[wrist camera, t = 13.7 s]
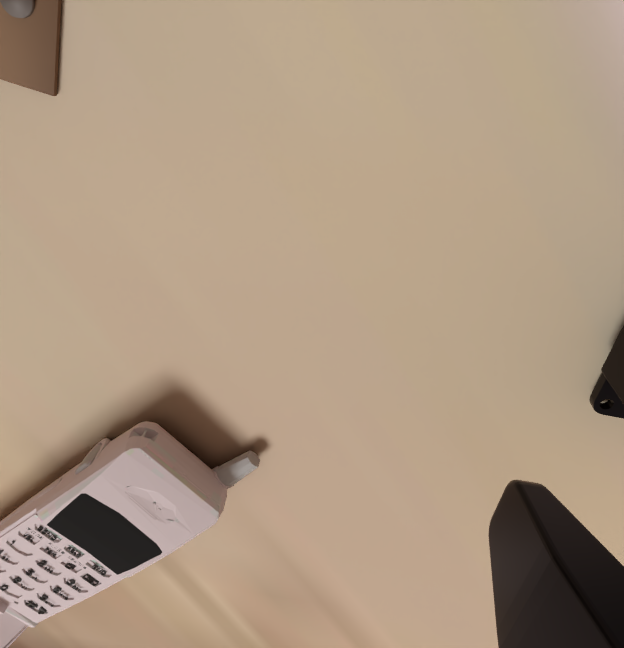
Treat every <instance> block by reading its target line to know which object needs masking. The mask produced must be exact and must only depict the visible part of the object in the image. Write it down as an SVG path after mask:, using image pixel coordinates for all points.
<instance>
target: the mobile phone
mask: <svg viewBox="0 0 624 648" xmlns="http://www.w3.org/2000/svg"><path fill="white" fill-rule="evenodd" d="M259 462H260V459H259V457H258V456H257V455H256V454H255V453H254V452H252V451H248V452H246V453H244V454H242V455H240V456H238V457H236V458H234V459H232V460H230V461H228V462H226V463H224V464H222V465H221V466H217V467H215V468H213V469H210V468H209V467H208V466H207V465H206V464H204V463H203V462H202V461H201V460H200V459H199V458H197V457H196V456H195V455H194V454H193V453H191V452H190V451H189V450H188V449H187V448H186V447H184V446H183V445H182V444H181V443H180V442H178V441H177V440H176V439H175V438H174V437H173V436H171V435H170V434H169V433H168V432H167V431H165V430H164V429H163V428H162V427H161V426H160V425H158V424H157V423H154V422H148V421H145V422H141V423H138V424H137V425H135V426H134V427H132V428H131V429H129V430H128V431H126V432H124V433H123V434H121V435H120V436H118V437H117V438H115V439H114V440H112V441H111V440H110V439H108V438H105V439H102V440H101V441H100V442H99V443H97V444H96V445H95V446H94V447H93V448H92V449H91V450H90V452H89V453H88V454H87V455H86V457H85V458H84V459H83V461H82V462H81V463H79V464H78V465H76V466H75V467H74V468H72V469H71V470H69V471H68V472H67V473H65V474H64V475H62V476H61V477H60V478H58V479H57V480H55V481H54V482H52V483H51V484H50V485H48V486H47V487H45V488H44V489H43V490H41V491H40V492H38V493H37V494H36V495H34V496H33V497H31V498H30V499H29V500H27V501H26V502H25V503H24V504H22V505H21V506H20V507H18V508H17V509H16V510H14V511H13V512H12V513H10V514H9V515H8V516H7V517H5V518H4V519H3V520H1V521H0V648H8V647H9V646H10V645H11V644H12V643H13V642H14V641H15V640H16V639H17V638H18V636H19V635H20V634H21V633H22V632H23V631H24V630H25V629H26V628H27V627H28V626H30V627H35V626H36V625H37V624H38V623H39V622H40V621H42V620H44V619H46V618H48V617H50V616H52V615H54V614H56V613H58V612H61V611H63V610H65V609H67V608H69V607H71V606H73V605H75V604H77V603H79V602H81V601H83V600H85V599H87V598H89V597H91V596H93V595H95V594H97V593H98V592H100V591H102V590H104V589H106V588H108V587H110V586H111V585H113V584H115V583H117V582H119V581H121V580H122V579H124V578H126V577H131V576H132V575H134V574H136V573H138V572H139V571H141V570H143V569H145V568H146V567H148V566H150V565H151V564H153V563H155V562H157V561H158V560H160V559H162V558H164V557H165V556H167V555H169V554H170V553H172V552H174V551H175V550H177V549H178V548H180V547H181V546H183V545H184V544H186V543H187V542H189V541H190V540H192V539H193V538H195V537H196V536H198V535H199V534H201V533H202V532H204V531H205V530H207V529H208V528H210V527H211V526H213V525H214V524H215V523H216V522H217V520H218V518H219V517H220V515H221V513H222V511H223V509H224V505H225V501H226V497H227V489H228V488H230V487H232V486H233V485H234V484H235V483H237V482H238V481H239V480H241V479H242V478H244V477H245V476H246V475H248V474H249V473H251V472H252V471H253V470H255V469H256V468H257V467H258V466H259ZM26 625H27V626H26ZM25 626H26V627H25ZM24 627H25V628H24ZM23 628H24V629H23ZM22 629H23V630H22ZM21 630H22V631H21ZM20 631H21V632H20ZM19 632H20V633H19ZM18 633H19V634H18ZM17 634H18V635H17ZM16 635H17V636H16ZM15 636H16V637H15ZM14 637H15V638H14ZM13 638H14V639H13ZM12 639H13V640H12Z"/></svg>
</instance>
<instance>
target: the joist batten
mask: <svg viewBox="0 0 624 648" xmlns="http://www.w3.org/2000/svg"><path fill="white" fill-rule="evenodd" d="M60 21H61V0H0V79H1V80H4V81H8V82H11V83H14V84H17V85H20V86H23V87H27V88H30V89H33V90H36V91H39V92H42V93H46V94H49V95H52V96H56V95H57V82H58V61H59V41H60Z"/></svg>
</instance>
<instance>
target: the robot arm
mask: <svg viewBox="0 0 624 648" xmlns="http://www.w3.org/2000/svg"><path fill="white" fill-rule="evenodd" d="M605 399H609V400H608V401H607V402H605V403H601V402H602V401H603V400H605ZM590 403H591V405H592V407H593V409H594V410H595V411H596V412H597V413H600V414H603V415H608V416H614V417H619V418H624V326H623V328H622V330H621V332H620V334H619V336H618V338H617V340H616V342H615V344H614V345H613V347H612V349H611V351H610V353H609V355H608V357H607V359H606V361H605V363H604V365H603V367H602V375H601V377H600V378H599V380H598V382H597V384H596V386H595V388H594V390H593V392H592V394H591V396H590ZM489 546H490V557H491V569H492V581H493V592H494V604H495V615H496V627H497V637H498V646H499V648H624V566H623V565H622V564H621V563H620V562H619V561H618V560H617V559H616V558H615V557H614V556H613V555H612V554H611V553H610V552H609V551H608V550H607V549H606V548H605V547H604V546H603V545H602V544H601V543H600V542H599V541H598V540H597V539H596V538H595V537H594V536H593V535H592V534H591V533H590V532H589V531H588V530H587V529H586V528H585V527H584V526H583V525H582V524H581V523H580V522H579V521H578V520H577V519H576V518H575V517H574V515H573V514H572V513H571V512H570V511H569V510H568V509H567V508H566V507H565V506H564V505H563V504H562V503H561V502H560V501H559V500H558V499H557V498H556V497H555V496H554V495H553V494H552V493H551V492H550V491H549V490H548V489H547V488H546V487H544V486H543V485H541V484H538V483H533V482H527V481H522V480H512V481H511V482H510V483H508V485H507V486H506V488H505V490H504V493H503V495H502V497H501V499H500V501H499V503H498V505H497V508H496V510H495V512H494V514H493V516H492V519H491V522H490V526H489Z"/></svg>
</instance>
